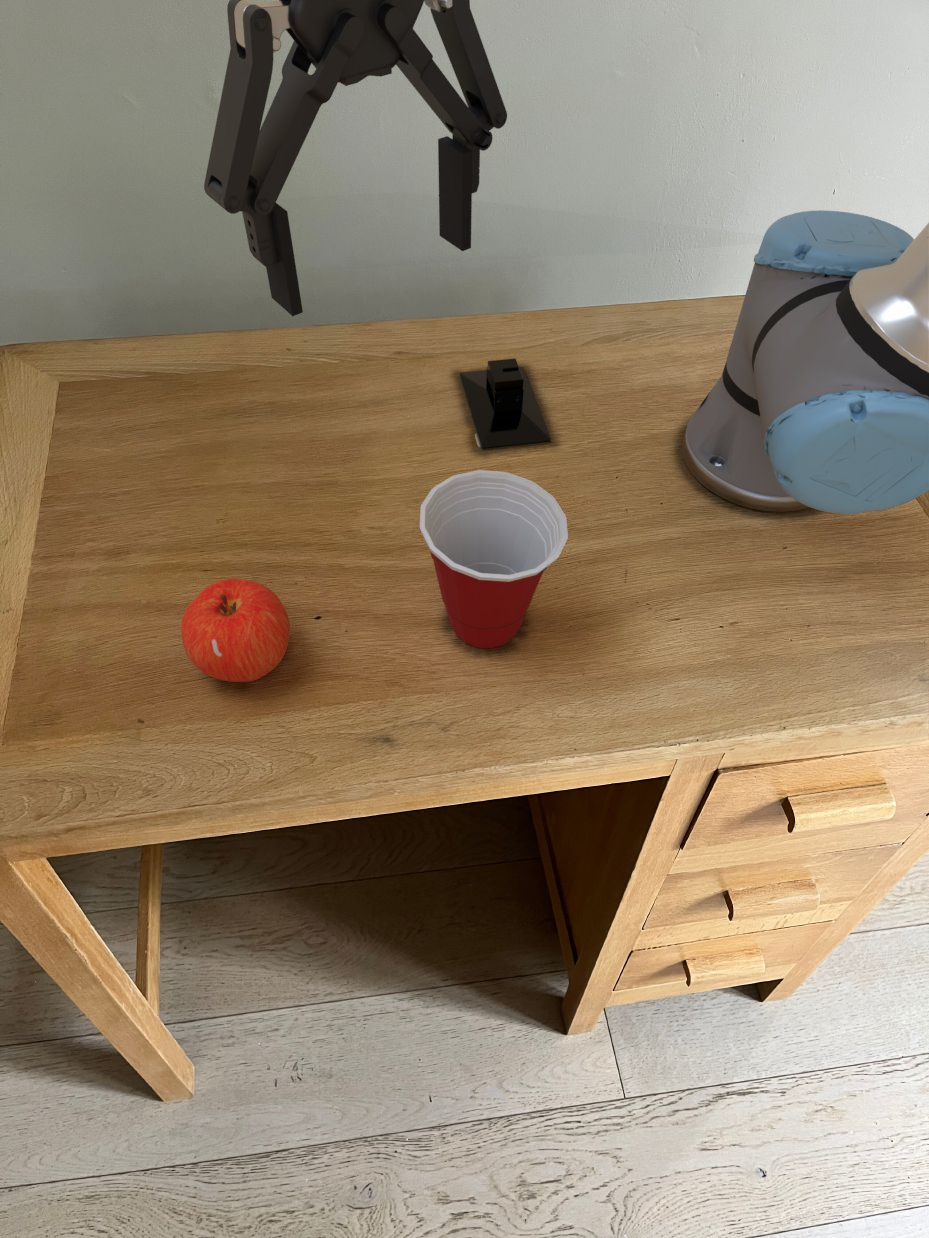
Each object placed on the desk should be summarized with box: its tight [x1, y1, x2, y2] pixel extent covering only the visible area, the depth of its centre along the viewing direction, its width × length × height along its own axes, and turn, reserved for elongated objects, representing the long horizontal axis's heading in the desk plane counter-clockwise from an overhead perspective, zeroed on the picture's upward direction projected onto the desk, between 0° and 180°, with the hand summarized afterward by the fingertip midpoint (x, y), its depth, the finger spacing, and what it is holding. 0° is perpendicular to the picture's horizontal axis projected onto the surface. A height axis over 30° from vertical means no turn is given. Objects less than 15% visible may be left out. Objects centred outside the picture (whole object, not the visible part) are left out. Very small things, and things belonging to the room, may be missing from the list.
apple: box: [180, 578, 291, 683], centre depth 65 cm, size 8×8×8 cm
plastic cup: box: [419, 469, 569, 649], centre depth 66 cm, size 11×11×12 cm
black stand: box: [458, 358, 551, 451], centre depth 87 cm, size 12×7×5 cm, turn 11°
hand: (374, 272), depth 58 cm, fingers open, 13 cm apart
